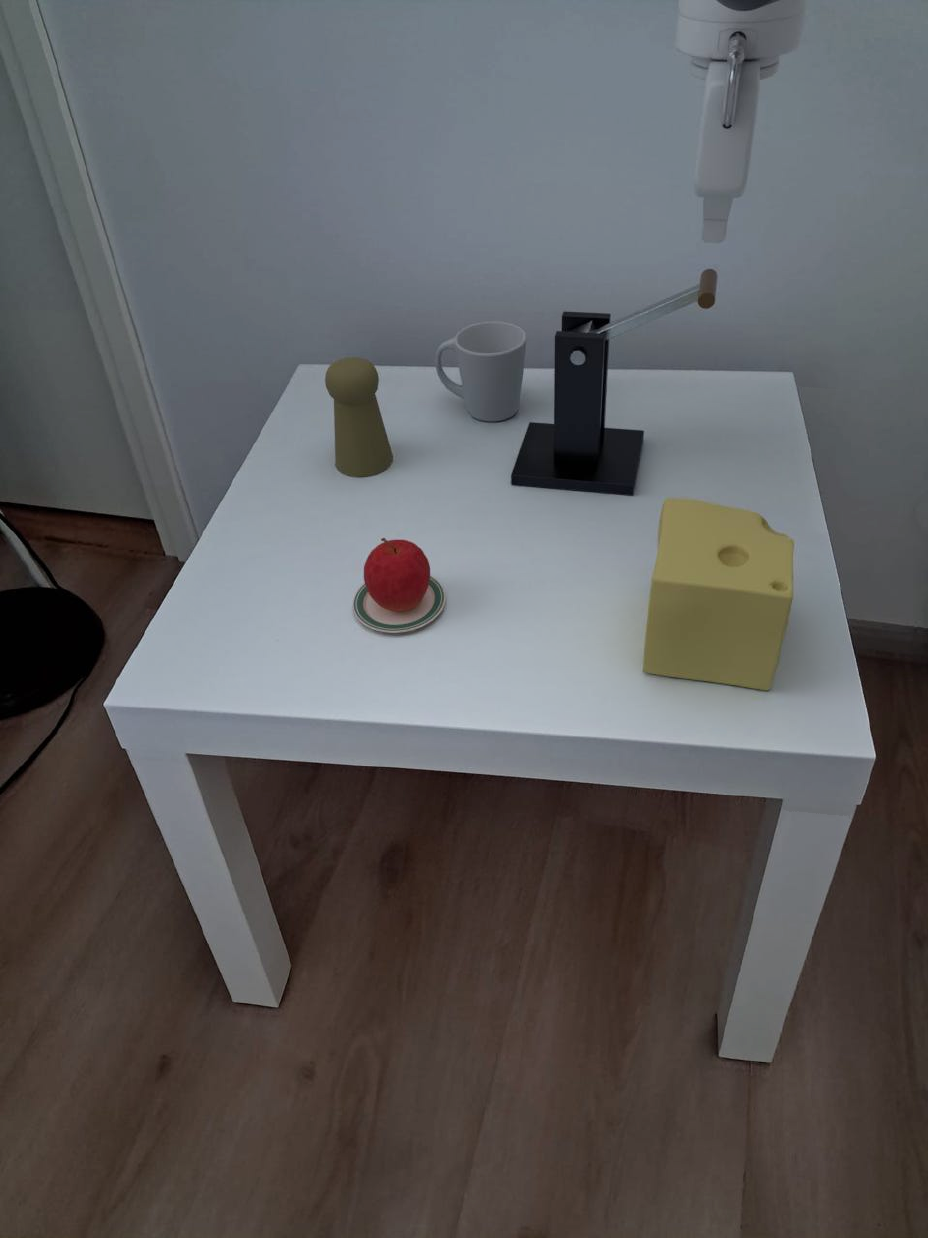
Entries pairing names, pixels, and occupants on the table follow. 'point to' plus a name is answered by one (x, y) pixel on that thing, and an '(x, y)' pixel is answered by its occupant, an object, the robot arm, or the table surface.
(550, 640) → the table surface
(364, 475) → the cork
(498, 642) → the table surface
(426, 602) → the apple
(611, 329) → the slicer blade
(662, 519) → the cheese
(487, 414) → the cup
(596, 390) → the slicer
